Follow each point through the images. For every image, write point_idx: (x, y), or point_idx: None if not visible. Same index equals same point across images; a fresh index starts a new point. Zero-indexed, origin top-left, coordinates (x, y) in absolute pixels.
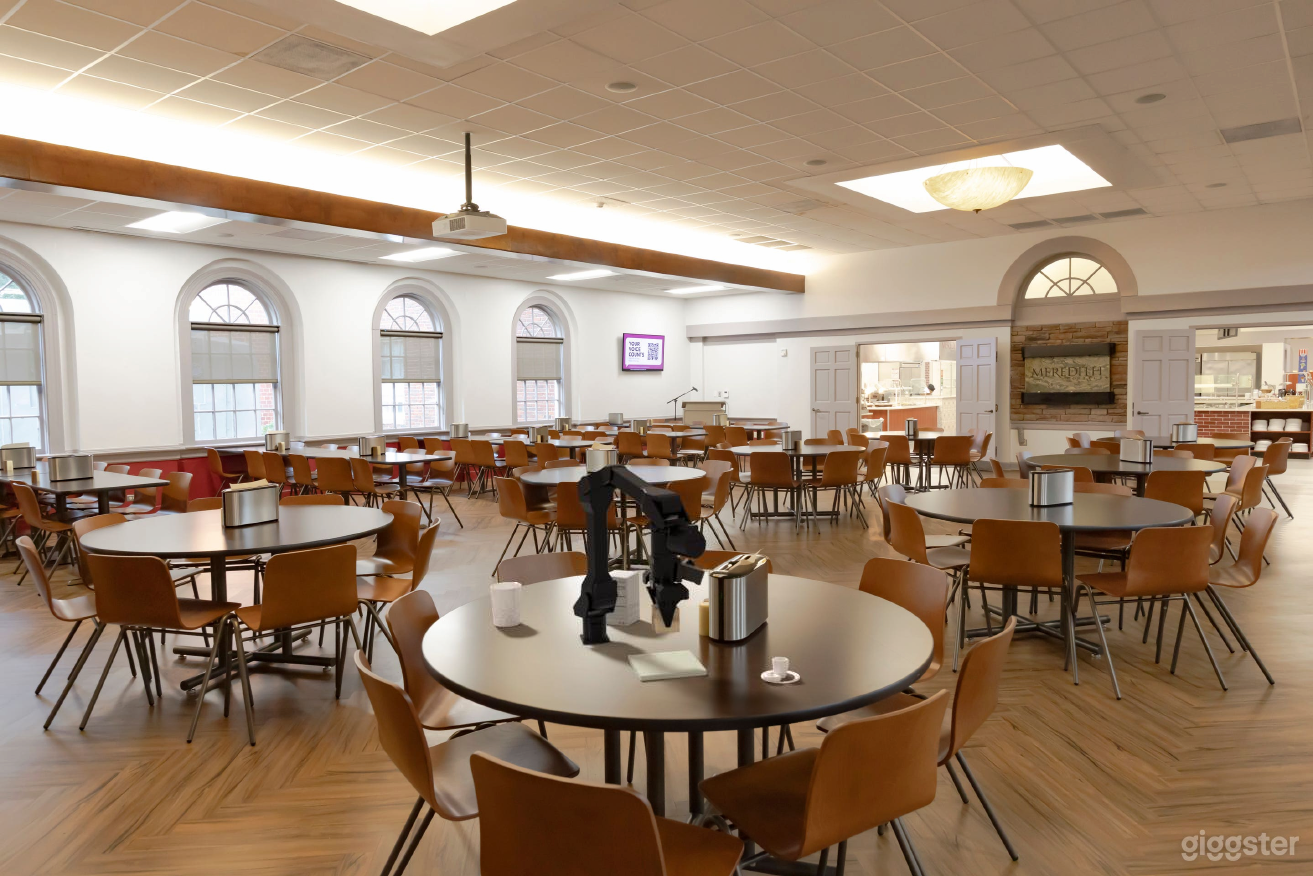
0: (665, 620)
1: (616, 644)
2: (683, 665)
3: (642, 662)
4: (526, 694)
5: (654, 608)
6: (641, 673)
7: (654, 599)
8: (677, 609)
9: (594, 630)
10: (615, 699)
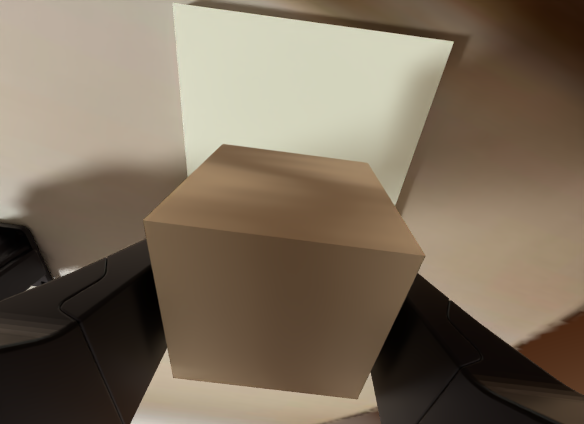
0: None
1: (47, 215)
2: (352, 112)
3: None
4: (335, 400)
5: (288, 388)
6: None
7: (133, 402)
8: (416, 270)
9: (15, 289)
10: None
